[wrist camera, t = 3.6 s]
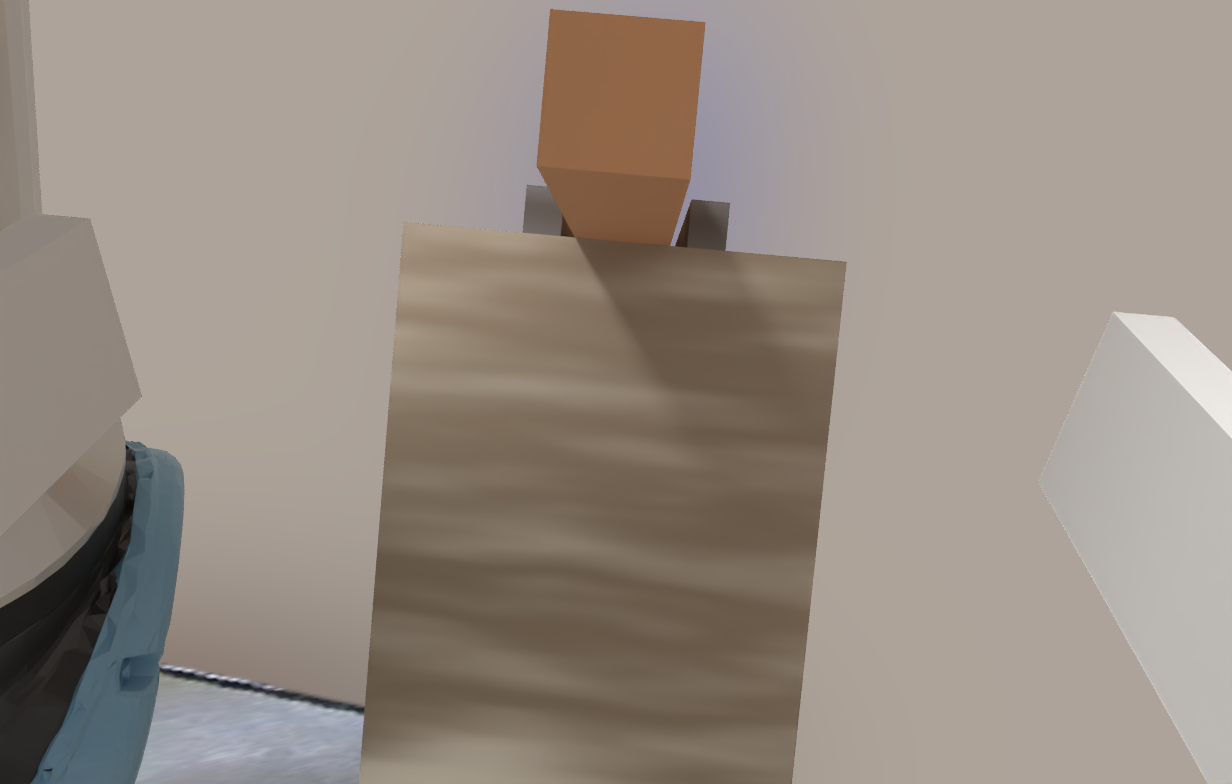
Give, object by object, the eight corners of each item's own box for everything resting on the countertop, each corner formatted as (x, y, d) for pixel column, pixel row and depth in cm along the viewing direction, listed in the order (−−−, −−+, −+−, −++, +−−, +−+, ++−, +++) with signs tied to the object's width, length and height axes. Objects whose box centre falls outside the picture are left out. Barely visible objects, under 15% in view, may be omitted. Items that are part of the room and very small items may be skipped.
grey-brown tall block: (750, 1172, 28) (851, 213, 26) (331, 1124, 28) (407, 174, 26) (712, 895, 41) (776, 262, 40) (433, 866, 42) (486, 236, 40)
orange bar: (690, 180, 16) (704, 22, 16) (536, 166, 16) (550, 8, 16) (657, 286, 42) (663, 226, 42) (598, 281, 42) (603, 221, 42)
